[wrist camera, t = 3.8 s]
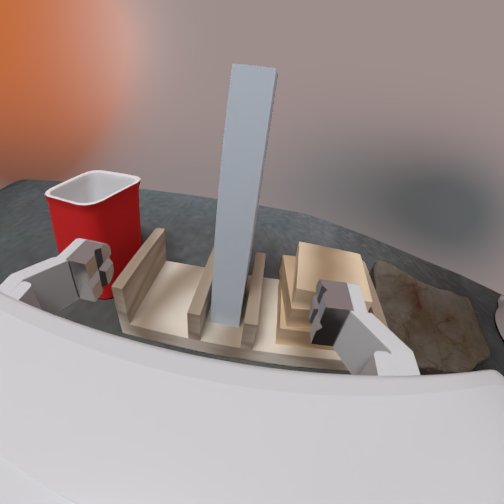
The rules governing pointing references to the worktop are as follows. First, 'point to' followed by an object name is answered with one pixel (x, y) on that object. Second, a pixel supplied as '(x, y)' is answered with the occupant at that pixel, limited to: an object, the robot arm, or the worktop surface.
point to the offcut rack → (209, 310)
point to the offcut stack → (312, 288)
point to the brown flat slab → (430, 322)
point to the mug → (98, 215)
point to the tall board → (240, 186)
